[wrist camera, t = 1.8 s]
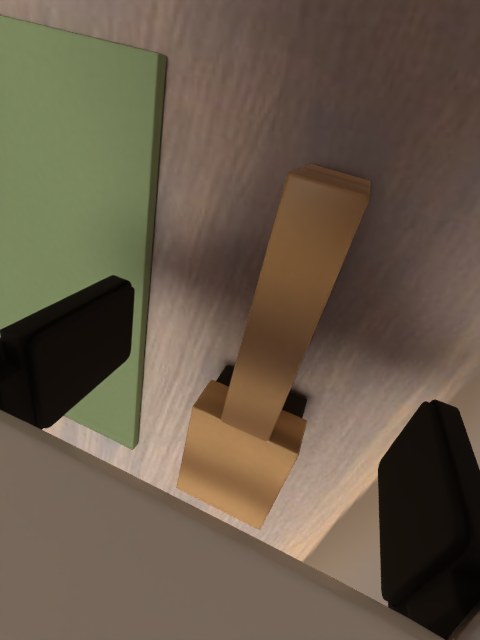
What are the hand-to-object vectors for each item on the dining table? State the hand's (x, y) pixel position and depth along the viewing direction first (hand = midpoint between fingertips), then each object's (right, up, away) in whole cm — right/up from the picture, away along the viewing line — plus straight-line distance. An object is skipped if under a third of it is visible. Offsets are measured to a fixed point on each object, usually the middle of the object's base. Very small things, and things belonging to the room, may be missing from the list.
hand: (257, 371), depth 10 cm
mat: (-12, +4, +8) cm, 15 cm away
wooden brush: (+1, -1, +6) cm, 6 cm away
